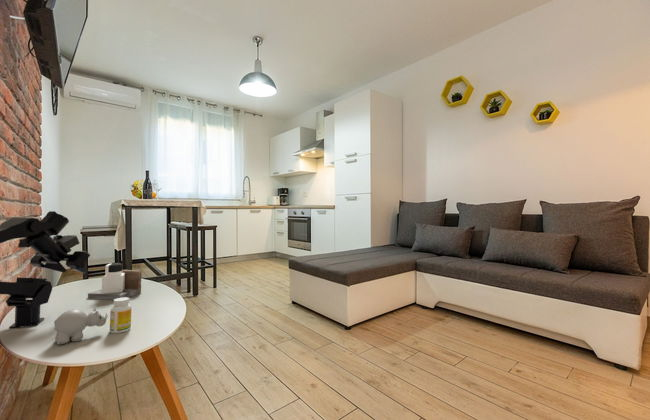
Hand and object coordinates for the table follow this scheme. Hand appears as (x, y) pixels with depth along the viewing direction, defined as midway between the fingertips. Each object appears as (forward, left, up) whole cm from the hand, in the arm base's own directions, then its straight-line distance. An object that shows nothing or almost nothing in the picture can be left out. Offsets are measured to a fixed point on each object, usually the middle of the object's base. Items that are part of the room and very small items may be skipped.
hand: (75, 272), depth 110 cm
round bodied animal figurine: (-33, -9, -14) cm, 37 cm away
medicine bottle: (+14, -10, -12) cm, 21 cm away
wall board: (+14, -10, -14) cm, 22 cm away
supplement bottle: (-31, -18, -14) cm, 39 cm away
